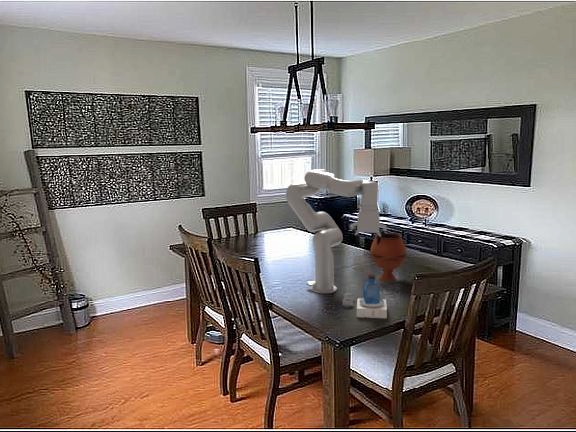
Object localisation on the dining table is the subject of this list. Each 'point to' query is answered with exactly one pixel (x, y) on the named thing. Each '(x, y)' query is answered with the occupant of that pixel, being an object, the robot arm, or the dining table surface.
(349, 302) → the spacer
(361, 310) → the scale
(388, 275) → the goblet
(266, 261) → the dining table surface
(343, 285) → the dining table surface
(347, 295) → the ring
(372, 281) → the perfume bottle
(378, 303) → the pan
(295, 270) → the dining table surface
